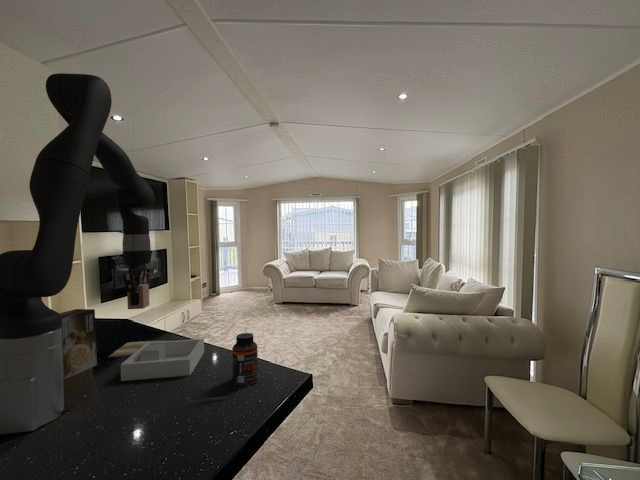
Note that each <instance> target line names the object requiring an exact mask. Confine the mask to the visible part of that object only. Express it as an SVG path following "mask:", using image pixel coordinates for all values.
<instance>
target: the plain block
mask: <svg viewBox="0 0 640 480" xmlns="http://www.w3.org/2000/svg"><path fill="white" fill-rule="evenodd" d="M155 360H165V344H159V345H147V346H146V347H145V348H144V349H143V350H141V362H142V361H155Z"/></svg>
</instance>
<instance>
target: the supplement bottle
mask: <svg viewBox="0 0 640 480" xmlns="http://www.w3.org/2000/svg"><path fill="white" fill-rule="evenodd" d="M235 337H236V340H235V344H234V345H233V346H232V351H231V352H232V353H231V354H232V355H231V357H232V383H233V384H234V385H236V386H247V385H251V386H253V385H254V384H256V383H257V382H258V379H259V378H258V377H259V375H258V374H259V373H258V371H259V367H258V365H259V364H258V360H259V359H258V357H259V356H258V354H259V353H258V344H257V343H256V342H255V341H254V334H253V333H249V332H246V333H245V332H244V333H240V334H237V335H236V336H235Z"/></svg>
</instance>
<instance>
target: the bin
mask: <svg viewBox="0 0 640 480" xmlns="http://www.w3.org/2000/svg"><path fill="white" fill-rule="evenodd" d="M159 344H165V360H155V361H142V362H141V350H143V349H144V348H145V347H146V346H147V345H159ZM204 353H205V338H198V339H197V338H195V339H193V338H192V339H179V340H166V341H162V342H147V343H146V344H145V345H144V346H142V347H141V348H140V349H139V350H138V351H136V352H135V353H134V354H133V355H132V356H128V358H126V359H125V360H124V361H123V362H122V363H121V364H120V382H125V381H126V382H129V381H139V380H140V381H141V380H149V379H151V380H152V379H164V378H173V377H174V378H175V377H186V376H187V377H188V376H191V375H192V373H193V372H194V370H195V368H196V366H197V365H198V363H199V361H200V360H201V358H202V357H203V355H204Z"/></svg>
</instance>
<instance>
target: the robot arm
mask: <svg viewBox="0 0 640 480" xmlns="http://www.w3.org/2000/svg"><path fill="white" fill-rule="evenodd" d="M45 92H46V95H47V97H48V99H49V101H50V102H51V104H52V106H53V107H54V109H55V110H56V112H57V113H58V114H59V115H60V116H61V118H63V120H64V121H65V122H66V123H67V124H68V125H67V126H66V127H65V128H64V129H63V130H62V131H61V132H60V133H59V134H57V135H56V136H55V137H54V138H53V139H52V140H50V141H49V142H48V143H47V144H46V145H45V146H44V147H43V148H42V149H41V150H40V151H39V153H38V154H37V157H36V158H35V162H34V164H33V168H32V171H31V174H30V178H29V183H28V184H29V191H30V196H31V198H32V201H33V203H34V206H35V208H36V211H37V214H38V215H37V216H38V219H39V220H38V223H39V226H38V231H37V236H36V239H35V243H34V245H33V247H32V249H21V250H20V249H19V250H8V251H5V252H2V253H0V435H6V434H15V433H16V434H17V433H26V432H33V431H35V430H36V429H38V428H40V427H41V426H44V425H46V424H49V423H50V422H52V421H54V420H56V419H57V418H59V417H60V416H61V415H62V414H63V413H64V408H65V406H64V405H65V404H64V403H65V400H64V399H65V398H64V394H65V393H64V379H63V361H62V320H61V315H60V314H59V313H60V312H57V311H55V310H53V309H52V308H51V307H48V306H47V305H46V304H45V302H44V301H43V300H42V299H43V298H49V297H53V296H56V295H57V294H60V293H61V292H62V291H63V290H64V289H65V287H66V286H67V285H68V282H69V280H70V279H71V275H72V271H73V263H74V256H75V246H76V239H77V238H76V237H77V231H78V227H79V222H80V216H81V211H82V206H83V202H84V199H85V195H86V192H87V188H88V184H89V182H90V177H91V172H92V167H93V162H94V158H96V159H97V161H98V162H99V163H100V165H101V167H102V168H103V170H104V172H105V173H106V176H107V177H108V178H109V180H110V181H111V183H112V184H114V185H115V186H116V187H118V188H117V189H116V191H115V193H114V199H115V203H116V205H117V208H118V211H119V215H120V217H121V220H122V230H123V231H122V264H123V265H124V266H128V271H127V273H123V274H122V275H123V277H122V278H123V283H124V287H125V288H124V289H125V292H126V293H127V292H129V293H130V304H131V305H132V306H134V305H139V286H140V285H141V284H149V285H150V277H151V269H150V268H147V266H146V265H149V264H151V263H152V260H151V259H152V255H151V254H152V252H151V248H152V247H151V239H150V223H149V221H150V220H149V218H148V217H147V216H145V215H139V214H136V212H135V211H134V209H144V208H145V209H147V208H150V207H152V206H153V205H154V203H155V201H156V200H155V199H156V196H155V193H154V190H153V189H152V187H151V186H150V185H149V184H148V183H147V182H146V180H145V179H144V178H143V177H142V176H141V175H140V174H139V173H138V172H137V170H136V169H135V167H134V165H133V163H132V161H131V159H130V157H129V156H128V154H127V153H126V152H125V151H124V149H123V148H122V147H121V146H120V145H118V143H116V142H115V141H114V140H113V139H111V138H110V137H109V136H108V135H106V134H105V133H104V128H105V126H106V124H107V122H108V118H109V116H110V113H111V109H112V101H113V100H112V94H111V93H112V92H111V89H110V87H109V85H108V83H107V82H106V81H105V80H104V79H103V78H101V77H100V76H97V75H94V74H88V73H87V74H86V73H53V74H50V75H49V76H48V77H47V78H46V81H45Z"/></svg>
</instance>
